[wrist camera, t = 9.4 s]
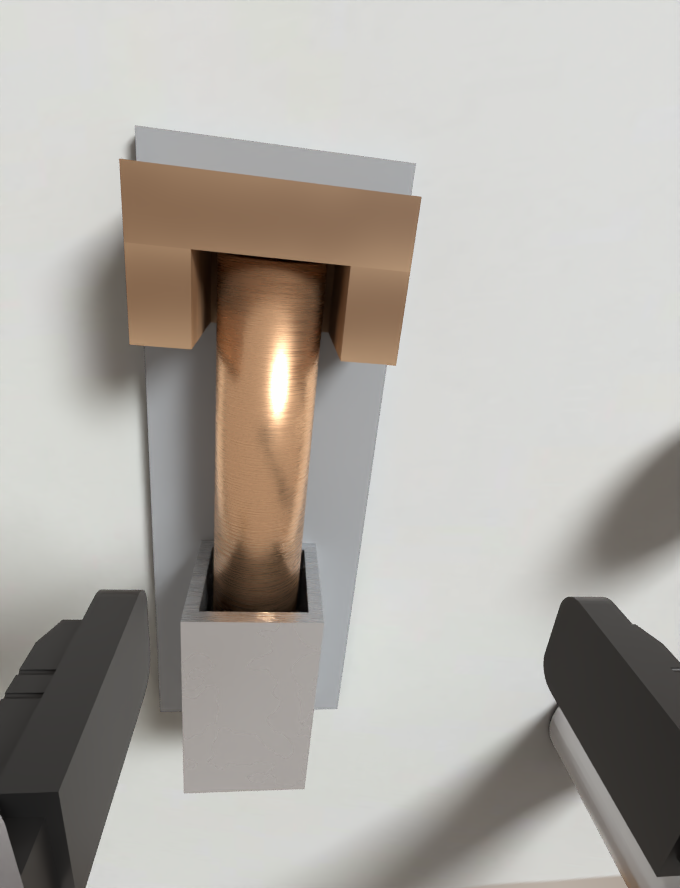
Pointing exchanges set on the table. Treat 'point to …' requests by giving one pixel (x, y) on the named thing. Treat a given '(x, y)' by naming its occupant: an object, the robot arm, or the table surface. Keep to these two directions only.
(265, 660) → the steel sleeve
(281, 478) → the copper tube
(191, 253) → the walnut socket
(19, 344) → the table surface
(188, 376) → the rubber mat
